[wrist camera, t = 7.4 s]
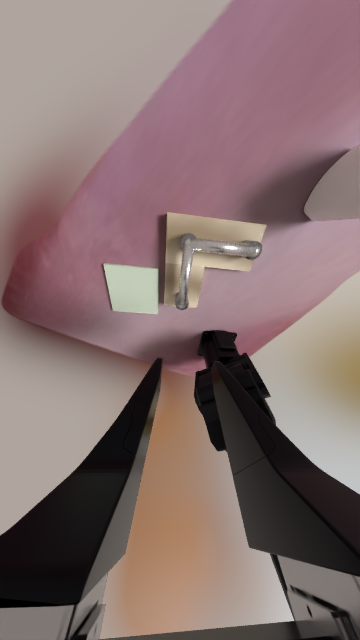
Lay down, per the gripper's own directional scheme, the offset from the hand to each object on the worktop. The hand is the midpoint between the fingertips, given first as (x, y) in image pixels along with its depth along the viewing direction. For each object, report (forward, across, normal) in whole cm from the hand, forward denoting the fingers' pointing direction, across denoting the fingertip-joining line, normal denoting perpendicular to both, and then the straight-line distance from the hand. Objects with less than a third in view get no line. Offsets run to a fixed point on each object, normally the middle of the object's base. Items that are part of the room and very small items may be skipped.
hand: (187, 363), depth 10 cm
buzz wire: (+13, -3, -3) cm, 14 cm away
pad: (+13, +7, 0) cm, 15 cm away
